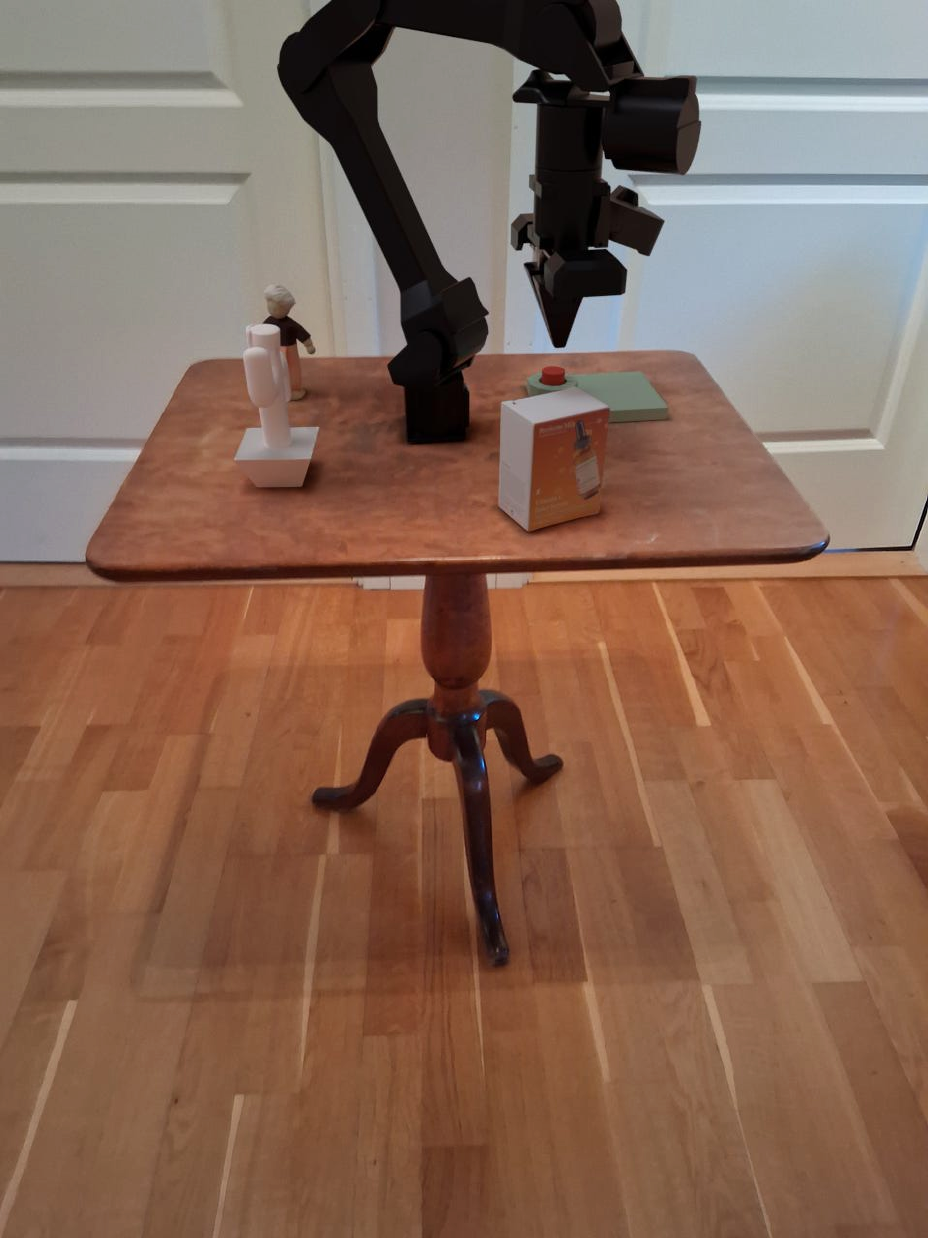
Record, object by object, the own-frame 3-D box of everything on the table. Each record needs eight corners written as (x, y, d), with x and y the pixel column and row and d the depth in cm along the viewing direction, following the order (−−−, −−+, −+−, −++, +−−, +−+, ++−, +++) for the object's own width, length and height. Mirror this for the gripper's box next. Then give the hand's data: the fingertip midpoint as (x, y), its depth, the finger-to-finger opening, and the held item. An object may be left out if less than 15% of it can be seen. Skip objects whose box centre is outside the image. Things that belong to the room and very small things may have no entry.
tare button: (543, 388, 100) (544, 374, 99) (539, 379, 102) (540, 366, 101) (566, 387, 101) (567, 373, 100) (561, 378, 103) (562, 365, 102)
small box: (527, 534, 80) (531, 424, 74) (496, 507, 84) (498, 400, 78) (601, 513, 83) (612, 405, 77) (568, 488, 87) (576, 384, 81)
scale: (536, 426, 98) (537, 400, 97) (520, 388, 107) (520, 363, 105) (667, 419, 100) (670, 393, 98) (640, 382, 108) (642, 357, 107)
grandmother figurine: (254, 398, 105) (237, 287, 98) (266, 386, 108) (251, 278, 101) (315, 403, 104) (303, 292, 96) (327, 391, 107) (316, 282, 99)
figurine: (324, 455, 93) (308, 309, 84) (313, 499, 85) (295, 343, 76) (254, 456, 93) (231, 310, 84) (237, 500, 85) (210, 344, 76)
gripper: (699, 182, 69) (673, 376, 79) (627, 144, 84) (612, 311, 94) (559, 188, 68) (550, 385, 77) (511, 148, 83) (508, 317, 92)
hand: (559, 346), depth 85 cm, fingers closed
